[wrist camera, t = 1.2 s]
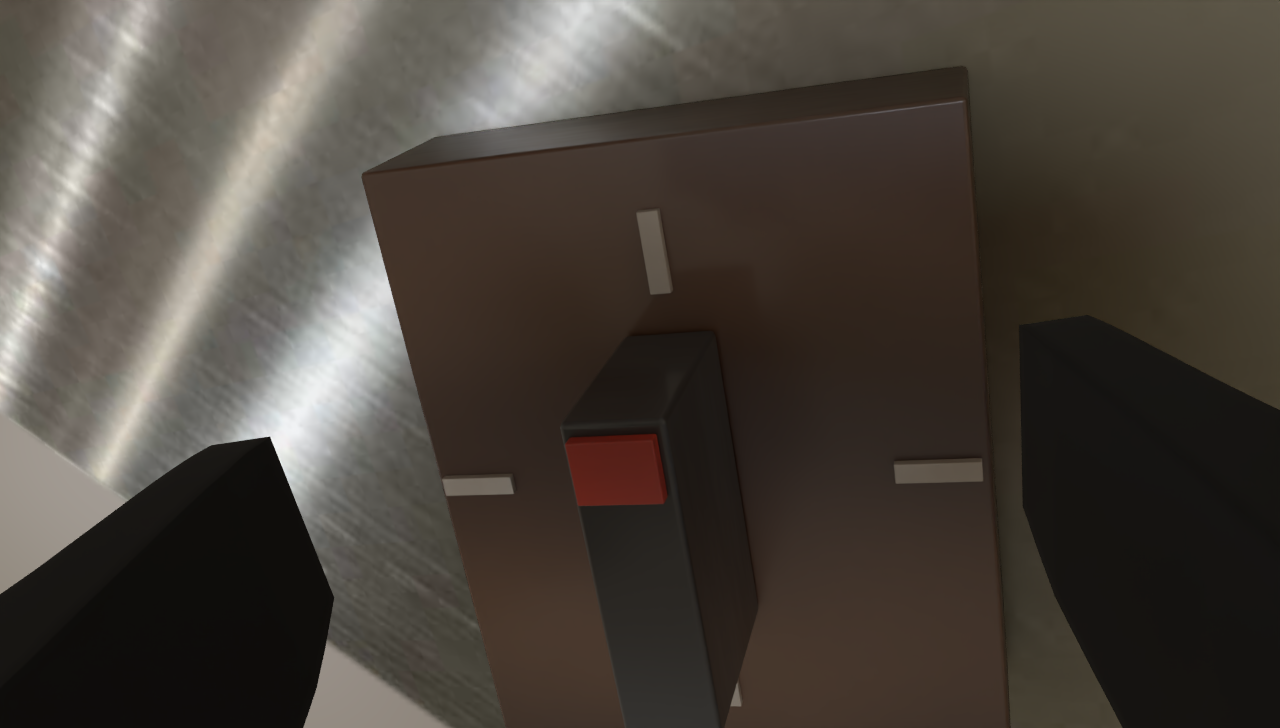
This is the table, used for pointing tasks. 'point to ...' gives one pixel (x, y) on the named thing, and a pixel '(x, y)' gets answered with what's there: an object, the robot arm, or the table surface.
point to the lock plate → (724, 382)
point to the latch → (664, 528)
